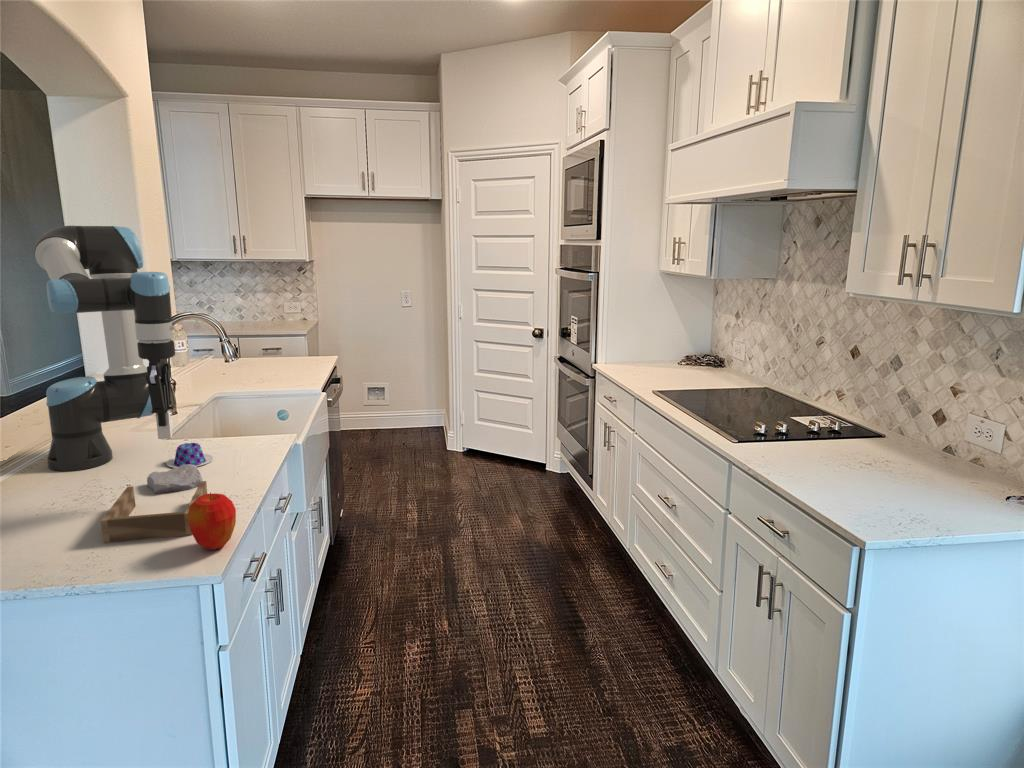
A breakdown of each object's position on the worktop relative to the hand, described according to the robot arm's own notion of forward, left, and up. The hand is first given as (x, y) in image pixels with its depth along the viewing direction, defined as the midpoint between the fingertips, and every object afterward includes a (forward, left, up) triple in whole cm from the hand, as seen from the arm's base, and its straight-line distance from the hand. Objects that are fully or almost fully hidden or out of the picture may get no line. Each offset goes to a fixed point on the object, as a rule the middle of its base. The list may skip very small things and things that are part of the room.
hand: (165, 437), depth 156 cm
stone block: (-9, -1, -16) cm, 18 cm away
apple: (+29, +14, -16) cm, 36 cm away
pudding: (-27, -1, -16) cm, 32 cm away
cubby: (+13, 0, -16) cm, 20 cm away
